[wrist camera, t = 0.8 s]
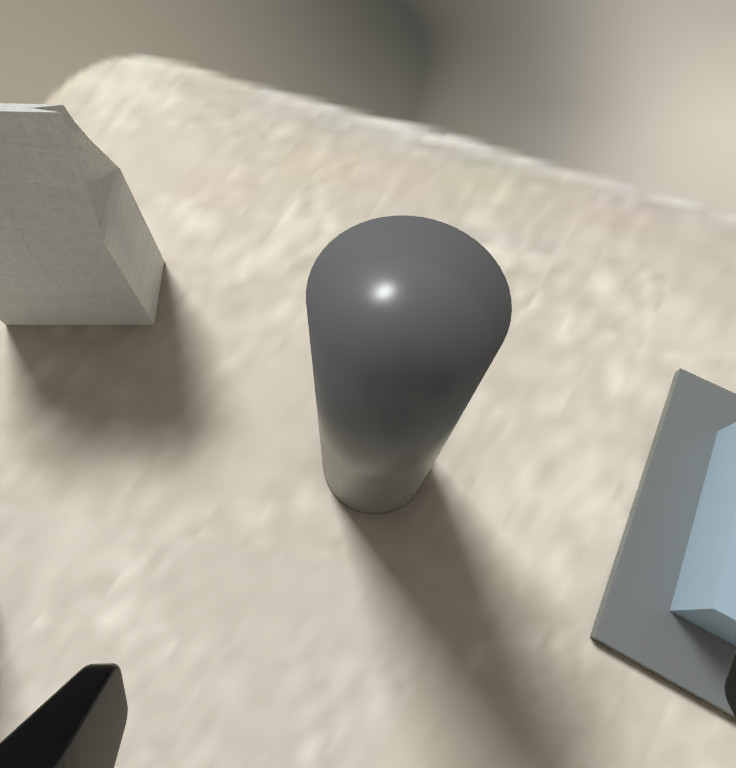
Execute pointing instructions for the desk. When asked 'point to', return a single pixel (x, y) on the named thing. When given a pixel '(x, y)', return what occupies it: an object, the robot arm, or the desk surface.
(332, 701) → the desk surface
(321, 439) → the plug
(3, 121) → the grey chamfered block
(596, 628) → the dock
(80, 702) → the robot arm
